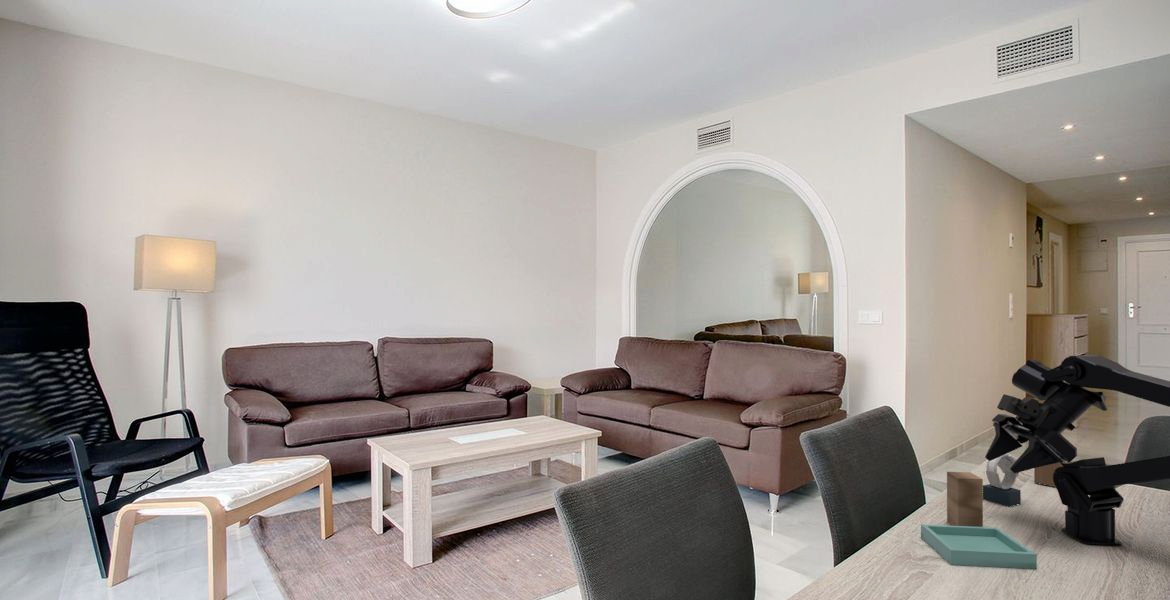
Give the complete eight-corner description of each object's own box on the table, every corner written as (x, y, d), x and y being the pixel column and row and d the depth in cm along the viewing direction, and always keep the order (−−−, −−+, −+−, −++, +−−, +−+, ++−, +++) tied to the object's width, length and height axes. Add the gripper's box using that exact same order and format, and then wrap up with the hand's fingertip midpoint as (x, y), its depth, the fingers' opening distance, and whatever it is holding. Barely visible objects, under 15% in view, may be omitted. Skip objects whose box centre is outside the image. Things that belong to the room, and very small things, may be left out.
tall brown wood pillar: (970, 523, 118) (970, 472, 118) (982, 532, 114) (982, 479, 114) (947, 522, 119) (946, 471, 119) (958, 531, 115) (958, 478, 115)
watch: (1025, 502, 130) (1025, 453, 130) (1003, 508, 127) (1003, 458, 127) (999, 495, 136) (999, 448, 136) (977, 500, 132) (977, 451, 132)
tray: (997, 540, 110) (997, 527, 110) (1036, 569, 99) (1036, 554, 99) (920, 537, 112) (920, 524, 112) (950, 564, 100) (950, 550, 100)
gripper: (1001, 376, 125) (946, 426, 126) (1057, 387, 106) (992, 446, 108) (1043, 413, 123) (986, 463, 125) (1106, 432, 105) (1040, 490, 106)
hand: (999, 464), depth 116 cm, fingers open, 9 cm apart
